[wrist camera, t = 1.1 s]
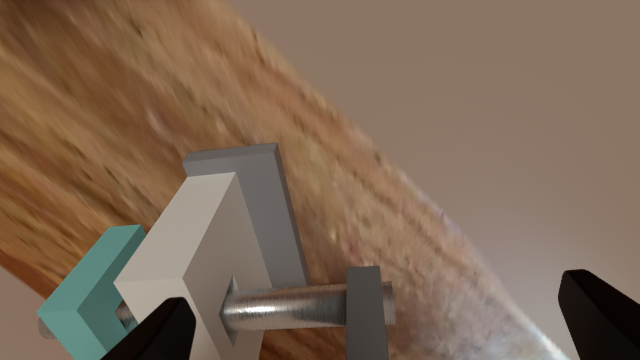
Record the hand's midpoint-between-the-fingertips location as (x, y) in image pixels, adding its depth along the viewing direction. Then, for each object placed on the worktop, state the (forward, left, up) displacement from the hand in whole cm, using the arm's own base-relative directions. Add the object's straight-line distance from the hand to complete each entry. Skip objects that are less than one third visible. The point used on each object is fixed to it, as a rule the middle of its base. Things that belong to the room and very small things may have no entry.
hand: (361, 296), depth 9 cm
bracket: (-8, +8, -14) cm, 17 cm away
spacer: (-8, +14, -10) cm, 19 cm away
